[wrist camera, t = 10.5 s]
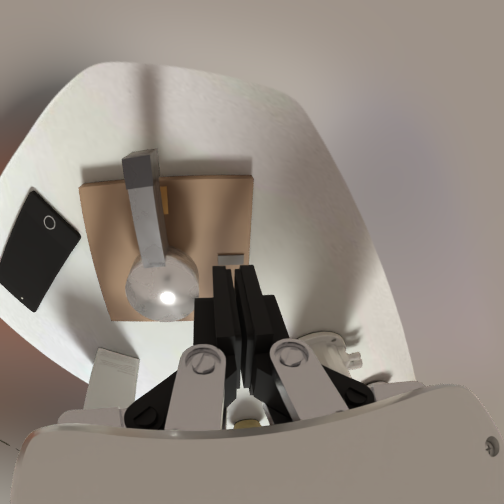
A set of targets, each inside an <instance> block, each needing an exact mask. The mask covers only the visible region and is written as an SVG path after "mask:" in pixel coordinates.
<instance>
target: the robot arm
mask: <svg viewBox="0 0 504 504" xmlns="http://www.w3.org/2000/svg"><path fill="white" fill-rule="evenodd" d="M212 275H213V297H212V298H195V300H194V341H193V346H191V347H190V348H188V349H186V350H185V351H184V352H183V354H182V356H181V358H180V362H179V366H178V370H177V371H176V372H174V373H173V374H172V375H170V376H169V377H168V378H166V379H165V380H164V381H162V382H161V383H160V384H158V385H157V386H156V387H154V388H153V389H151V390H150V391H149V392H147V393H146V394H145V395H143V396H142V397H140V398H139V399H138V400H136V401H135V402H133V403H132V404H131V405H130V406H129V407H128V408H124V409H120V408H119V407H109V408H97V409H83V410H70V411H66V412H65V413H63V414H62V415H61V416H60V418H59V419H58V424H55V425H50V426H46V427H42V428H40V429H37V430H35V431H33V432H32V433H30V434H29V435H28V437H27V438H26V439H25V441H24V442H23V444H22V447H21V449H20V452H19V455H18V457H17V461H16V465H15V469H14V475H13V481H12V487H11V497H10V504H504V439H503V437H502V435H501V433H500V432H499V430H498V428H497V426H496V424H495V423H494V421H493V419H492V418H491V417H490V414H489V413H488V411H487V410H486V408H485V407H484V405H483V404H482V403H481V401H480V400H479V399H478V398H477V397H476V395H475V394H474V393H473V392H472V391H471V390H469V389H468V388H466V387H464V386H461V385H454V384H437V385H430V386H425V385H424V384H423V383H420V382H418V381H407V382H396V383H383V384H373V385H372V386H371V387H368V386H366V385H365V384H363V383H361V382H359V381H357V380H354V379H352V377H351V375H350V373H349V371H348V370H353V369H357V368H361V367H362V360H361V358H360V357H361V355H360V353H359V352H355V353H352V354H348V353H346V352H345V351H346V345H345V342H344V340H343V339H342V337H341V336H340V335H338V334H336V333H333V332H317V333H312V334H308V335H306V336H303V337H300V338H299V339H291V338H289V335H288V332H287V329H286V327H285V324H284V321H283V318H282V315H281V312H280V310H279V307H278V304H277V301H276V298H275V296H274V295H262V292H261V289H260V286H259V282H258V279H257V275H256V272H255V269H254V266H253V265H240V267H239V269H235V272H234V286H233V279H232V273H231V269H226V266H212ZM240 370H241V374H242V380H243V386H244V388H249V391H250V395H254V397H255V398H257V399H259V400H260V401H262V406H263V409H264V411H265V414H266V416H267V419H268V421H269V424H270V425H269V426H261V427H252V428H241V429H228V430H226V425H227V407H228V406H229V405H230V404H231V403H232V402H233V401H234V400H235V399H236V391H237V389H240Z"/></svg>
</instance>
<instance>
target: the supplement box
mask: <svg viewBox="0 0 504 504" xmlns="http://www.w3.org/2000/svg"><path fill="white" fill-rule="evenodd" d="M139 363H140V359H137V358H133V357H130V356H126V355H123V354H119V353H116V352H112V351H109V350H106V349H103V348H98V350H97V354H96V357H95V361H94V365H93V369H92V372H91V377H90V381H89V385H88V390H87V395H86V399H85V404H84V409H97V408H109V407H119V408H120V409H124V408H128V407H129V406H130V405H131V404H132V403H133V402H135V393H136V384H137V377H138V370H139Z"/></svg>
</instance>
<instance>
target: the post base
mask: <svg viewBox="0 0 504 504" xmlns="http://www.w3.org/2000/svg"><path fill="white" fill-rule="evenodd" d="M159 182H160V191H161V198H162V206H163V213H164V220H165V226H166V232H167V238H168V244H169V246H171V247H175V248H178V249H180V250H182V251H183V252H185V253H186V254H188V255H189V256H190V257H191V258H192V260H193V261H194V262H195V264H196V266H197V269H198V273H199V298H212V297H213V275H212V266H226V269H231V273H232V279H233V286H234V272H235V269H239V267H240V265H249V248H250V232H251V215H252V199H253V182H254V179H253V177H252V176H251V175H201V176H171V177H159ZM79 194H80V201H81V207H82V213H83V218H84V223H85V228H86V233H87V238H88V242H89V246H90V251H91V255H92V259H93V263H94V266H95V270H96V274H97V277H98V281H99V284H100V288H101V291H102V294H103V297H104V300H105V304H106V307H107V310H108V312H109V315H110V318H111V321H155V320H151V319H149V318H146V317H144V316H142V315H141V314H139V313H138V312H137V311H136V310H135V309H134V308H133V307H132V306H131V305H130V303H129V301H128V299H127V297H126V292H125V285H126V281H127V278H128V275H129V273H130V270H131V267H132V264H133V262H134V260H135V258H136V257H137V256H138V255H139V254H140V250H139V245H138V241H137V236H136V231H135V226H134V221H133V216H132V211H131V205H130V200H129V194H128V190H126V185H125V180H114V181H103V182H94V183H85V184H83V185H82V186H80V187H79ZM177 321H194V310H193V311H192V313H190V314H189V315H188V316H186V317H185V318H183V319H180V320H177Z"/></svg>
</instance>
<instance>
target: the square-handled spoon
mask: <svg viewBox="0 0 504 504" xmlns="http://www.w3.org/2000/svg"><path fill="white" fill-rule="evenodd" d="M122 164H123V172H124V179H125V185H126V190H128V194H129V200H130V205H131V211H132V216H133V221H134V226H135V231H136V236H137V241H138V245H139V250H140V254H139V255H138V256H137V257H136V258H135V260H134V262H133V264H132V267H131V270H130V273H129V275H128V278H127V281H126V285H125V292H126V297H127V299H128V301H129V303H130V305H131V306H132V307H133V308H134V309H135V310H136V311H137V312H138V313H139V314H141V315H142V316H144V317H146V318H149V319H151V320H155V321H160V322H172V321H177V320H180V319H183V318H185V317H186V316H188V315H189V314H190V313H192V311H193V310H194V300H195V298H199V273H198V269H197V266H196V264H195V262H194V261H193V260H192V258H191V257H190V256H189V255H188V254H186V253H185V252H183V251H182V250H180V249H178V248H175V247H171V246H169V244H168V238H167V232H166V226H165V220H164V213H163V206H162V198H161V191H160V182H159V177H160V170H159V161H158V150H157V149H150V150H143V151H136V152H132V153H130V154H129V155H127V156H126V157H124V158H123V159H122Z"/></svg>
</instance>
